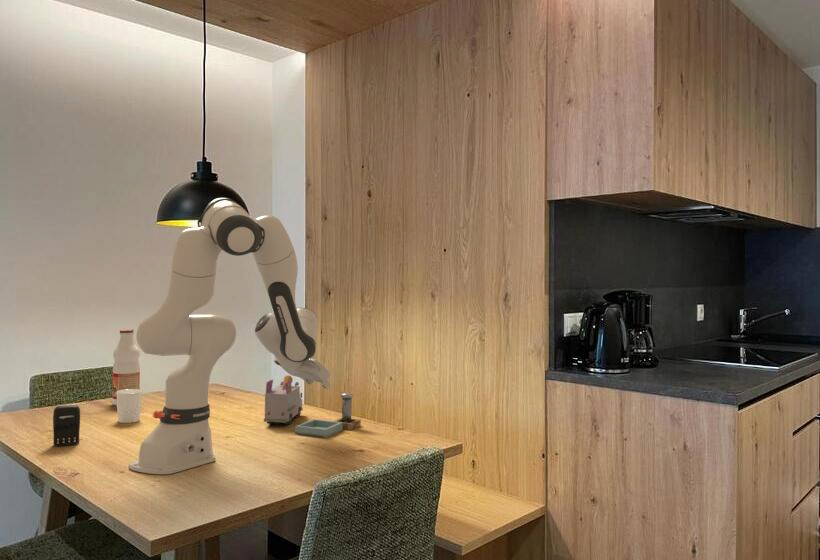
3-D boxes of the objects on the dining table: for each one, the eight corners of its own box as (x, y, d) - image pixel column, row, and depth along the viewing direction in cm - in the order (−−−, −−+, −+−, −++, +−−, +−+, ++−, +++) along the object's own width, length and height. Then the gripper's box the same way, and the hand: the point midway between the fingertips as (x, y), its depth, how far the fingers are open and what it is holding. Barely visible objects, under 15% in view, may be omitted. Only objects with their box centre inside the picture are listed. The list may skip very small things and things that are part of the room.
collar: (351, 430, 209) (351, 424, 209) (332, 427, 211) (332, 421, 211) (360, 425, 215) (360, 419, 215) (342, 423, 218) (342, 417, 218)
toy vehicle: (304, 415, 229) (305, 373, 229) (288, 428, 210) (289, 382, 210) (279, 414, 230) (280, 372, 230) (261, 427, 211) (262, 381, 210)
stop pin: (349, 428, 210) (349, 395, 210) (337, 427, 212) (338, 394, 212) (355, 426, 214) (355, 393, 214) (343, 424, 216) (344, 392, 216)
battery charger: (52, 448, 182) (52, 407, 182) (52, 444, 185) (53, 405, 185) (80, 445, 185) (80, 405, 185) (79, 442, 189) (80, 403, 189)
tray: (325, 437, 198) (326, 429, 198) (295, 434, 203) (295, 426, 203) (342, 430, 209) (342, 422, 209) (313, 426, 213) (313, 418, 213)
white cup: (141, 422, 214) (141, 392, 214) (115, 424, 211) (115, 393, 211) (141, 417, 221) (142, 388, 221) (116, 419, 218) (117, 389, 218)
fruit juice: (129, 407, 237) (130, 331, 237) (106, 405, 239) (107, 330, 239) (144, 402, 246) (145, 329, 246) (122, 400, 248) (123, 328, 248)
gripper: (318, 352, 192) (344, 381, 198) (282, 345, 207) (308, 373, 214) (305, 368, 189) (332, 397, 196) (270, 360, 204) (296, 387, 211)
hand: (319, 384), depth 205 cm, fingers open, 8 cm apart
